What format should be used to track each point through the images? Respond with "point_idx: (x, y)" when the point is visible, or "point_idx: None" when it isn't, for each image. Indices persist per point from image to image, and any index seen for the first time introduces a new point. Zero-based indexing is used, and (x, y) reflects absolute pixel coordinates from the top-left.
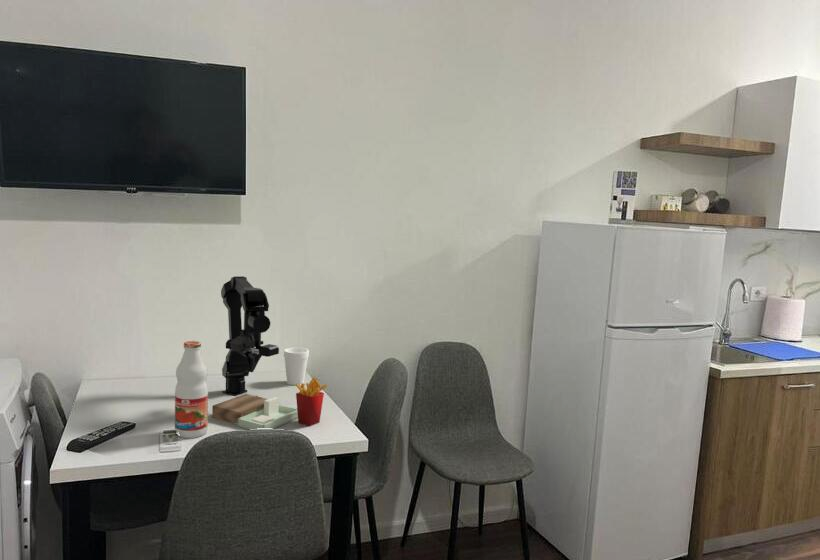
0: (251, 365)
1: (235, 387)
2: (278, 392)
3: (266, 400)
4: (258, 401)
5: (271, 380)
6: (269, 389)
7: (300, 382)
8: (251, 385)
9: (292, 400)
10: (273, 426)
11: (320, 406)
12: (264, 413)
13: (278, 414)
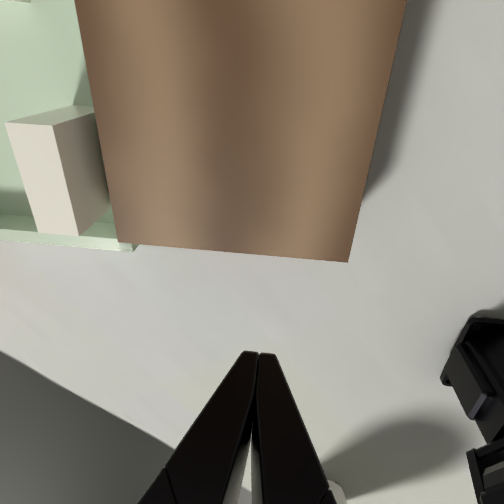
0: (206, 433)
1: (500, 359)
2: (306, 412)
3: (45, 140)
4: (170, 172)
5: (410, 490)
6: (361, 425)
7: None
8: (461, 436)
9: (193, 365)
10: None
11: None
12: None
13: None
